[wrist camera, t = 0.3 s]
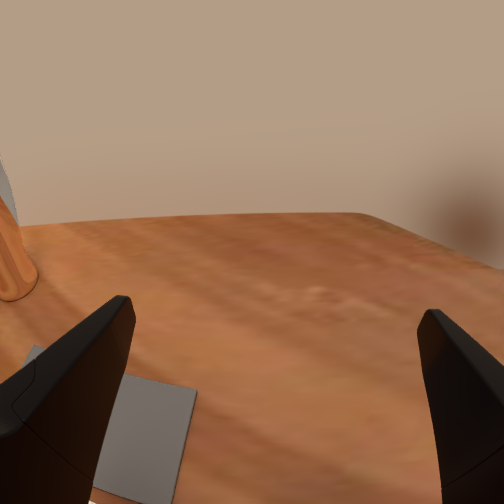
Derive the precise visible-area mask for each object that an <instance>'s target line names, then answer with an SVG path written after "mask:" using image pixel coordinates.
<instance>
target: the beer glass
mask: <svg viewBox="0 0 504 504" xmlns="http://www.w3.org/2000/svg"><path fill="white" fill-rule="evenodd" d="M37 279H38V272H37V269H36V267H35V266H34V264H33V263H32V261H31V260H30V259H29V257H28V255H27V253H26V251H25V249H24V246H23V243H22V238H21V233H20V228H19V222H18V216H17V211H16V206H15V201H14V197H13V194H12V189H11V186H10V183H9V180H8V177H7V174H6V171H5V168H4V165H3V163H2V160H1V156H0V299H2V300H4V301H15V300H18V299H20V298H22V297H24V296H25V295H27V294H28V293H29V292H30V291H31V290H32V289H33V287H34V286H35V284H36V282H37Z"/></svg>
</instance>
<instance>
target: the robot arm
mask: <svg viewBox="0 0 504 504" xmlns="http://www.w3.org/2000/svg"><path fill="white" fill-rule="evenodd" d="M135 323H136V316H135V312H134V309H133V305H132V302H131V299H130V297H128V296H123V295H116V296H115V297H113V298H112V299H111V300H109V301H108V302H107V303H105V304H104V305H103V306H101V307H100V308H99V309H97V310H96V311H95V312H93V313H92V314H91V315H89V316H88V317H87V318H85V319H84V320H83V321H81V322H80V323H79V324H78V325H76V326H75V327H74V328H72V329H71V330H70V331H68V332H67V333H66V334H65V335H63V336H62V337H61V338H59V339H58V340H57V341H56V342H54V343H53V344H52V345H51V346H49V347H48V348H47V349H45V350H44V351H43V352H42V353H40V354H39V355H38V356H37V357H36V359H33V360H32V361H30V362H29V363H28V364H27V365H25V366H24V367H23V368H22V369H20V370H19V371H18V372H16V373H15V374H14V375H12V376H11V377H10V378H8V379H7V380H5V381H4V382H3V383H1V384H0V504H89V499H90V495H91V490H92V486H93V481H94V477H95V473H96V469H97V465H98V461H99V457H100V453H101V449H102V445H103V442H104V438H105V434H106V431H107V427H108V424H109V420H110V417H111V413H112V410H113V407H114V403H115V400H116V397H117V394H118V390H119V387H120V384H121V381H122V378H123V375H124V371H125V368H126V364H127V360H128V355H129V351H130V346H131V341H132V337H133V332H134V328H135ZM417 338H418V344H419V351H420V358H421V366H422V373H423V379H424V383H425V388H426V393H427V397H428V402H429V407H430V413H431V418H432V423H433V429H434V435H435V442H436V448H437V455H438V463H439V471H440V480H441V488H442V489H441V492H442V504H504V366H503V365H502V364H501V363H500V362H499V361H498V360H497V359H495V358H494V357H493V356H492V355H491V354H490V353H489V352H488V351H487V350H486V349H484V348H483V347H482V346H481V345H480V344H479V343H478V342H477V341H476V340H474V339H473V338H472V337H471V336H470V335H469V334H468V333H466V332H465V331H464V330H463V329H462V328H461V327H459V326H458V325H457V324H456V323H455V322H454V321H452V320H451V319H450V318H449V317H448V316H447V315H445V314H444V313H443V312H442V311H441V310H439V309H428V310H426V312H425V313H424V316H423V318H422V320H421V322H420V324H419V326H418V329H417Z"/></svg>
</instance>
